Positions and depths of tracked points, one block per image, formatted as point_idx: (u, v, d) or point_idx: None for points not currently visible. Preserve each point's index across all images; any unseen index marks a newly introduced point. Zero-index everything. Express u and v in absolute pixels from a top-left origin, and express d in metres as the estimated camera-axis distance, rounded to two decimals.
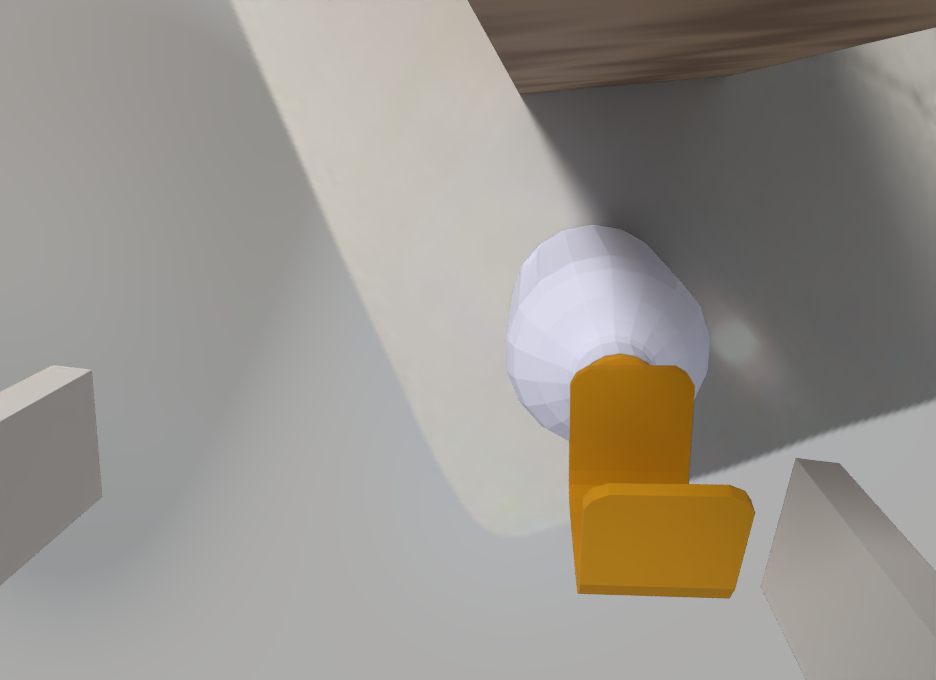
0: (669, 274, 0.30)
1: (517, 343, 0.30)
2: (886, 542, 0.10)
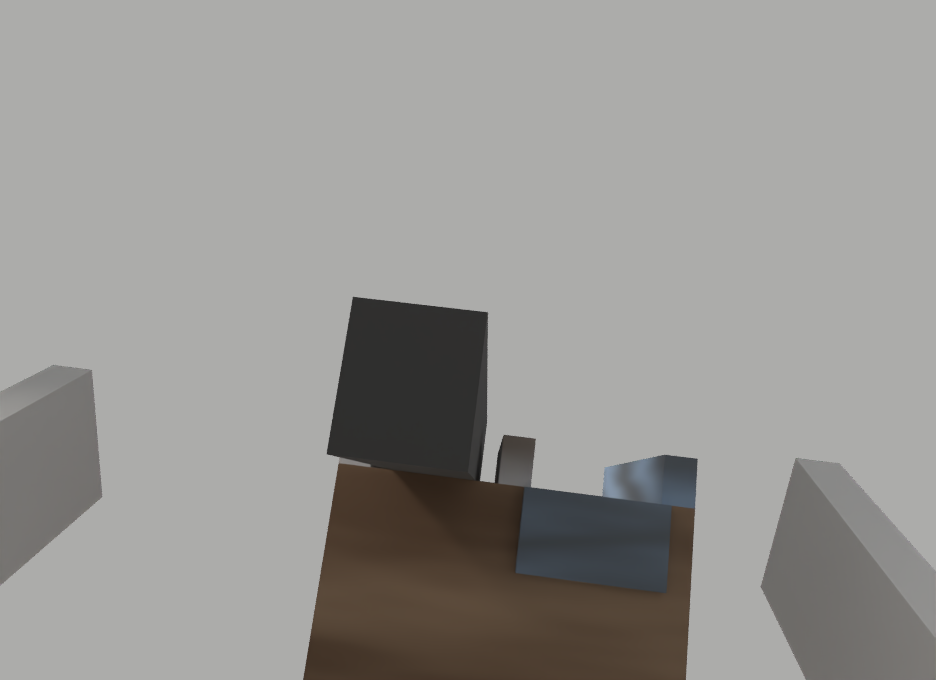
0: None
1: None
2: (886, 542, 0.10)
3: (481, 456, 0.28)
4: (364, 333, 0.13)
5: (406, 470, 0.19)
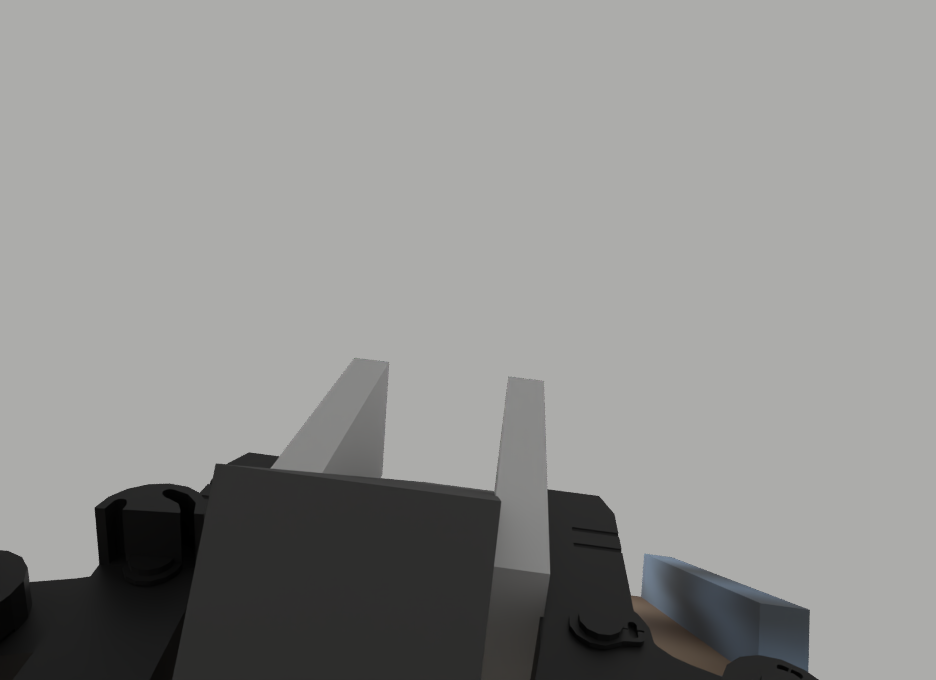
0: None
1: None
2: (525, 428, 0.12)
3: None
4: (236, 546, 0.06)
5: None
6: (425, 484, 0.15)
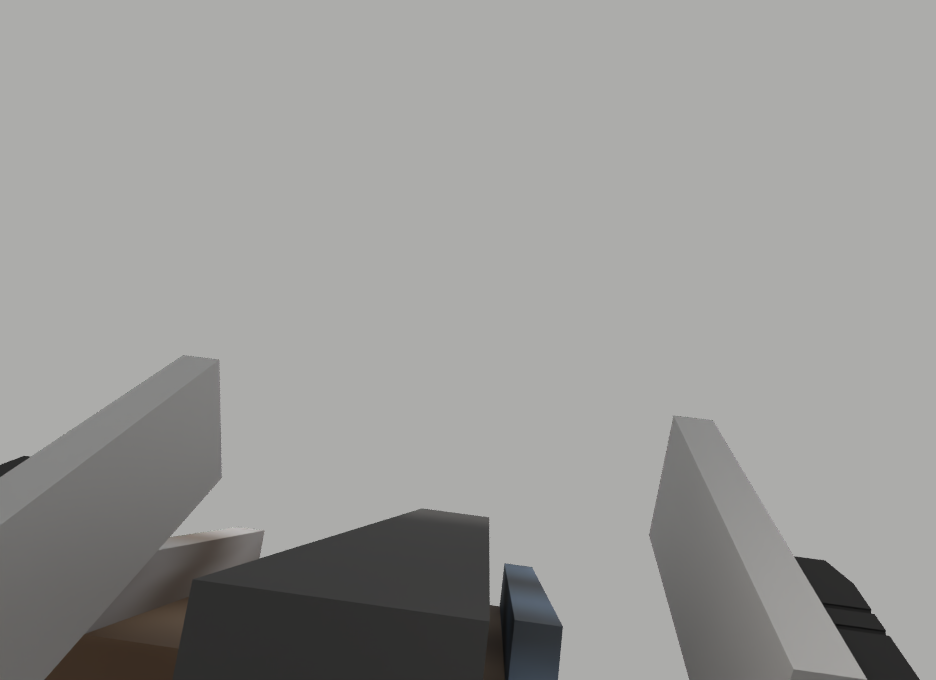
0: None
1: None
2: (727, 481, 0.11)
3: None
4: (214, 668, 0.06)
5: None
6: (418, 532, 0.14)
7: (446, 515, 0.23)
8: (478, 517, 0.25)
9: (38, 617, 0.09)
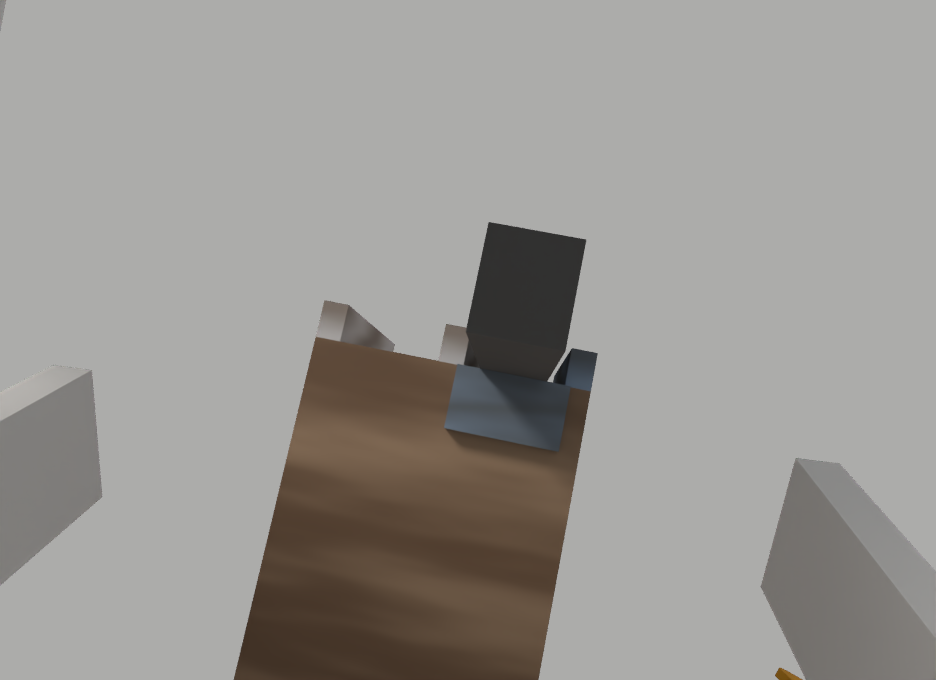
0: None
1: None
2: (886, 542, 0.10)
3: None
4: (496, 249, 0.18)
5: (497, 366, 0.24)
6: None
7: None
8: None
9: None
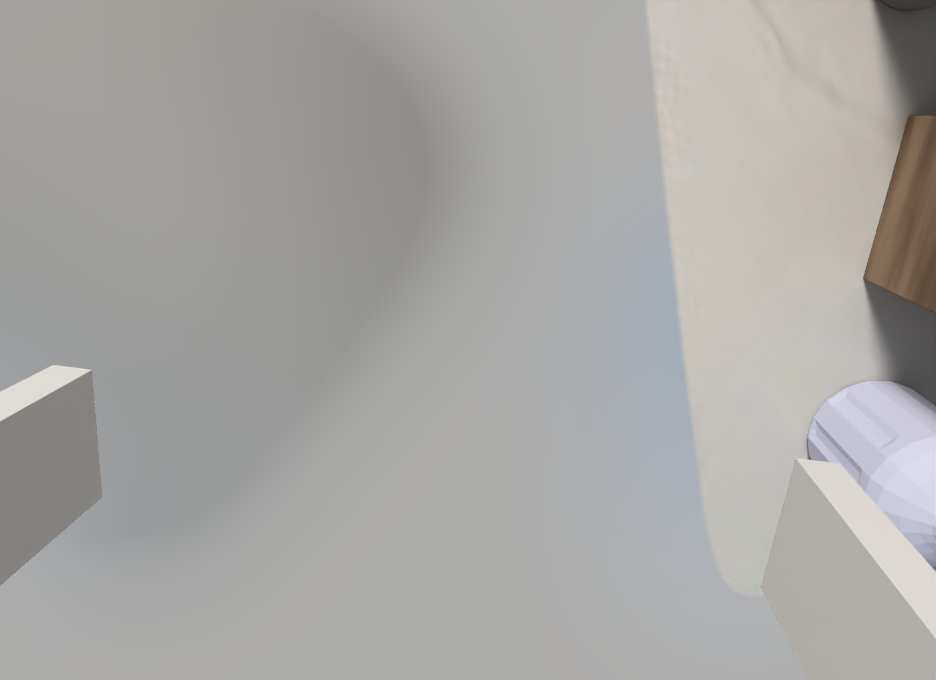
0: None
1: (887, 485, 0.42)
2: (886, 542, 0.10)
3: None
4: None
5: None
6: None
7: None
8: None
9: None
